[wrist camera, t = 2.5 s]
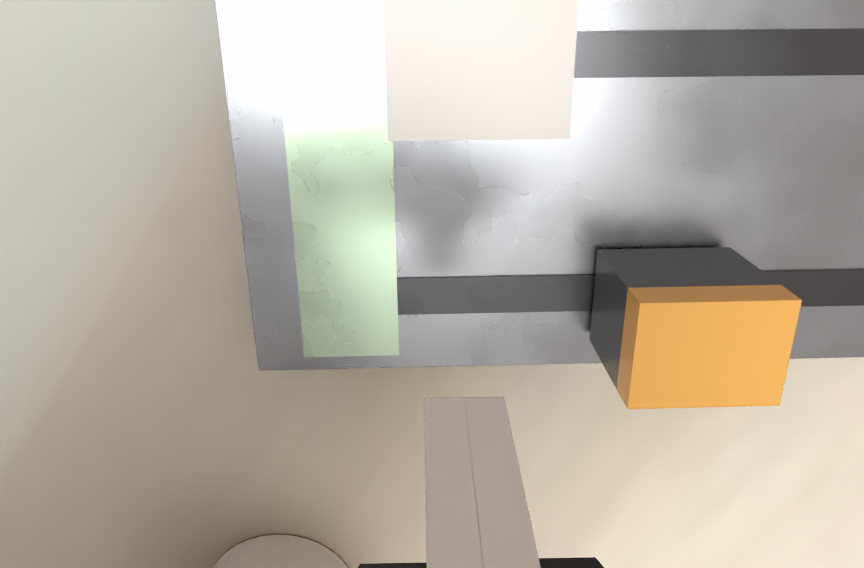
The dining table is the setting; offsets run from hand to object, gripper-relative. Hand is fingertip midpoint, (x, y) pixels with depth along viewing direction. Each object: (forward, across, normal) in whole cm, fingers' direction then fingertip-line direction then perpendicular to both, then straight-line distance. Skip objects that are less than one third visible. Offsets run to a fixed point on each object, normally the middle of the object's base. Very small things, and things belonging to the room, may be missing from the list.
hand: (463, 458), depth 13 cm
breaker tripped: (+8, +6, 0) cm, 10 cm away
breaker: (+8, 0, +7) cm, 11 cm away
